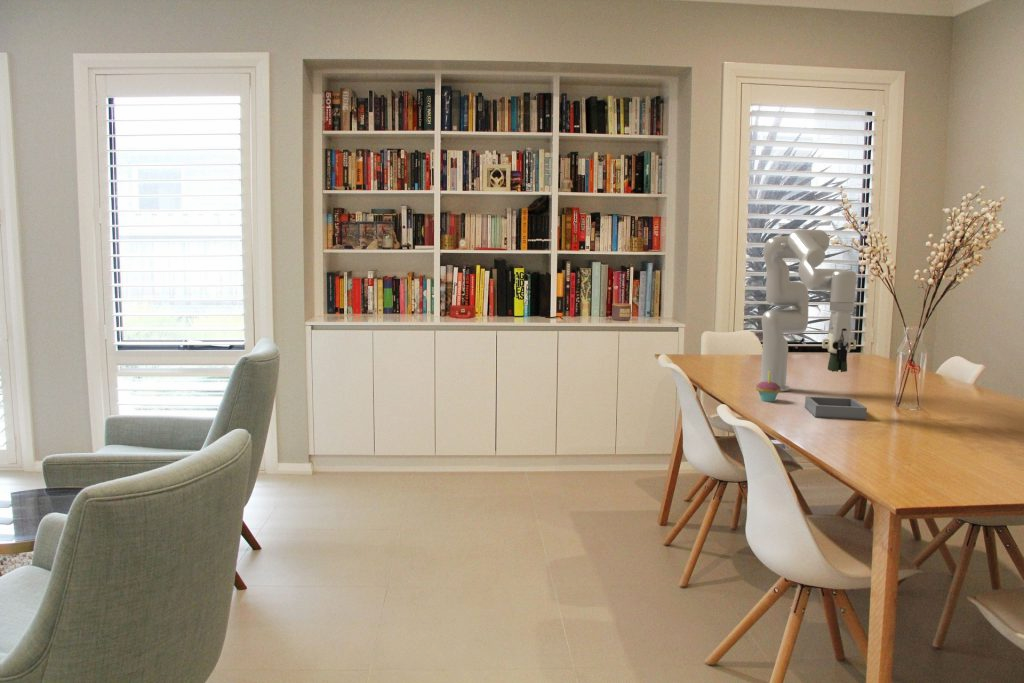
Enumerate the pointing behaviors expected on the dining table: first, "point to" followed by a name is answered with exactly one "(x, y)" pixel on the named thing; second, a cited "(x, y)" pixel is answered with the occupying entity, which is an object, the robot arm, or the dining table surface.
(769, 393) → the cupcake
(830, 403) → the grey tray
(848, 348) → the character mug
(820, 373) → the dining table surface
